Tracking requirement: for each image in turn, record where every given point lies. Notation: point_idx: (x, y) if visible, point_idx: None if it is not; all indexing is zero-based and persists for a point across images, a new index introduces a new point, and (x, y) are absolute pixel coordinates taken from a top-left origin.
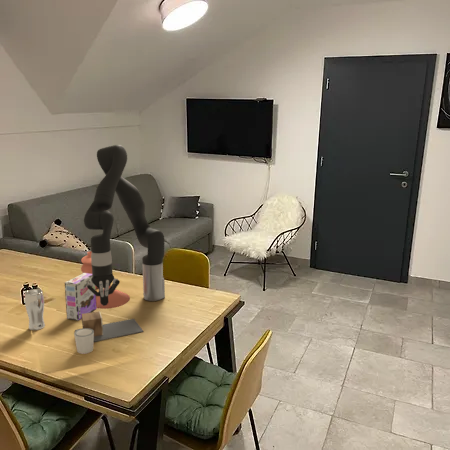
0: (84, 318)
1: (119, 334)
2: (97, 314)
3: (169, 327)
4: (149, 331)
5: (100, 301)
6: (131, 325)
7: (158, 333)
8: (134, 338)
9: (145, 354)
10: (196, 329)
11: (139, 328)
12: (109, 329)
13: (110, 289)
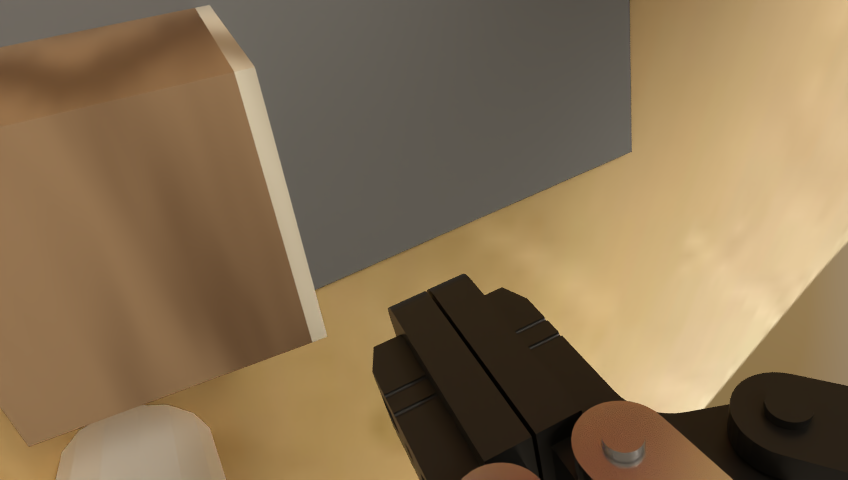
0: (14, 367)
1: (434, 212)
2: (230, 212)
3: (807, 85)
4: (666, 143)
5: (388, 409)
6: (564, 11)
7: (707, 183)
8: (539, 259)
9: None
10: None
11: (615, 98)
12: (330, 84)
13: (835, 473)
